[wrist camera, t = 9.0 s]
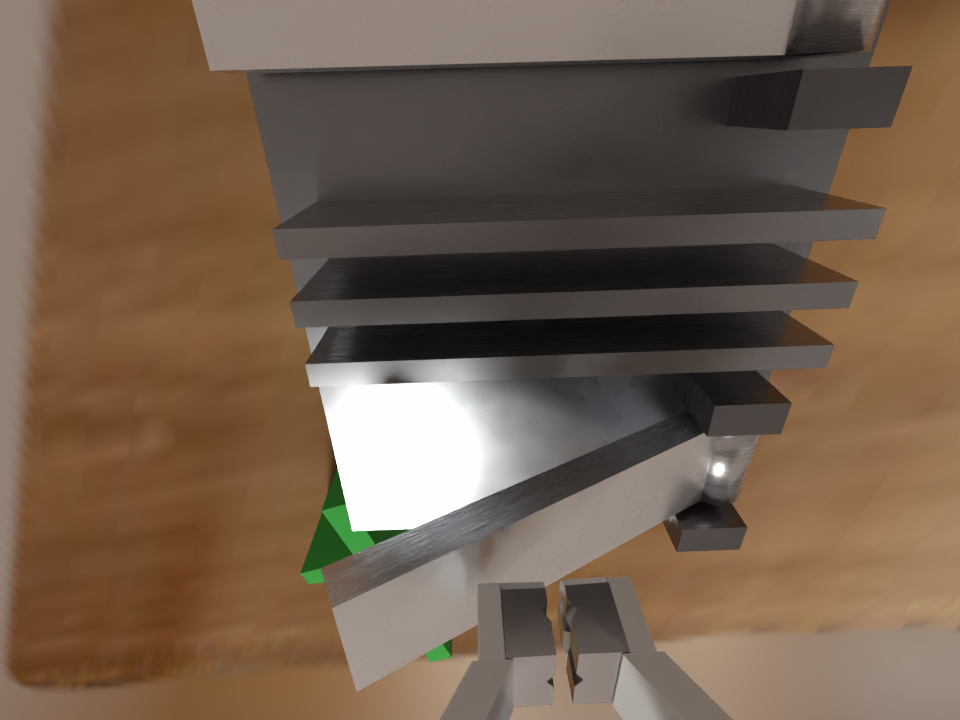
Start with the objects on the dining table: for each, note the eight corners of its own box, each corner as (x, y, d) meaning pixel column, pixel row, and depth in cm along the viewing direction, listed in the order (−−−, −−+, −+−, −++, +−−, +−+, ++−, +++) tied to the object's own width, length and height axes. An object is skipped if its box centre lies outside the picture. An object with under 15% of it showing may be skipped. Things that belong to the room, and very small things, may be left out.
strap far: (723, 389, 15) (777, 417, 14) (704, 460, 16) (751, 492, 15) (318, 561, 10) (340, 635, 8) (342, 643, 11) (364, 718, 10)
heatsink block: (805, -176, 12) (1270, -562, 5) (673, 433, 22) (771, 589, 15) (270, -161, 12) (-7, -538, 5) (375, 445, 22) (331, 607, 15)
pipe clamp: (299, 450, 22) (260, 526, 18) (370, 429, 22) (347, 502, 18) (395, 591, 27) (382, 675, 23) (454, 576, 27) (452, 659, 23)
